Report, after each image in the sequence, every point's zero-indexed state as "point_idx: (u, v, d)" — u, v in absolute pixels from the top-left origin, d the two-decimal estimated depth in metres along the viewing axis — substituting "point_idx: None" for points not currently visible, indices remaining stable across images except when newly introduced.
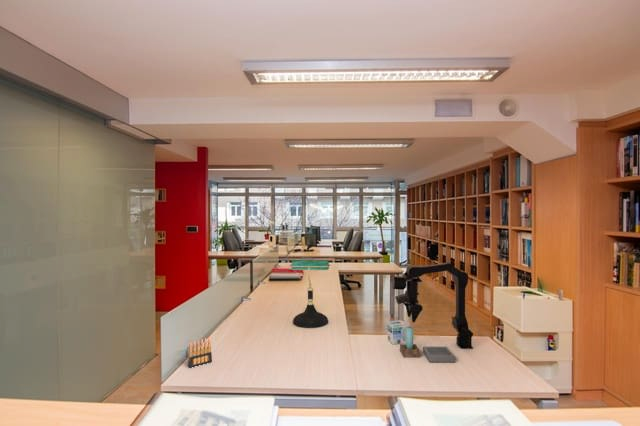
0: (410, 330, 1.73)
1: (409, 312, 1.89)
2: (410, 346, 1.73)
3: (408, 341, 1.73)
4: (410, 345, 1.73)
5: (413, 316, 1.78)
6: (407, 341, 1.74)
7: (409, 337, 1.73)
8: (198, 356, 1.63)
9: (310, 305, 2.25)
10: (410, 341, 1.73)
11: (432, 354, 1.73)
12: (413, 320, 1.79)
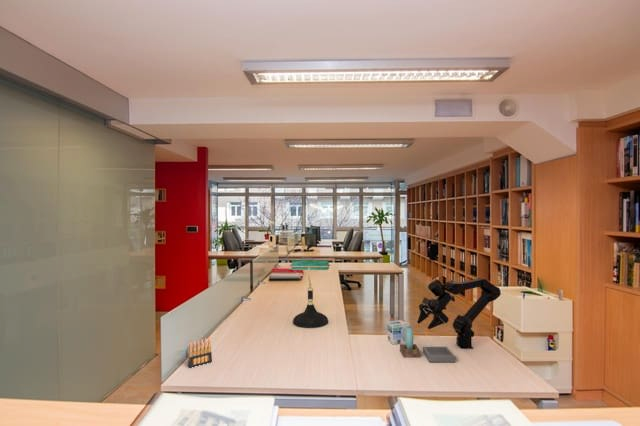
0: (410, 330, 1.73)
1: (421, 319, 1.82)
2: (410, 346, 1.73)
3: (408, 341, 1.73)
4: (410, 345, 1.73)
5: (433, 323, 1.72)
6: (407, 341, 1.74)
7: (409, 337, 1.73)
8: (198, 356, 1.63)
9: (310, 305, 2.25)
10: (410, 341, 1.73)
11: (432, 354, 1.73)
12: (429, 327, 1.72)
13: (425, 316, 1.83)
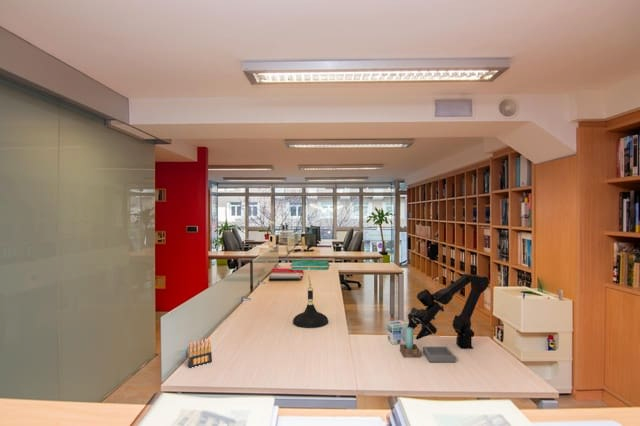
0: (410, 330, 1.73)
1: None
2: (410, 346, 1.73)
3: (408, 341, 1.73)
4: (410, 345, 1.73)
5: (421, 334, 1.70)
6: (407, 341, 1.74)
7: (409, 337, 1.73)
8: (198, 356, 1.63)
9: (310, 305, 2.25)
10: (410, 341, 1.73)
11: (432, 354, 1.73)
12: (417, 337, 1.70)
13: (414, 326, 1.81)
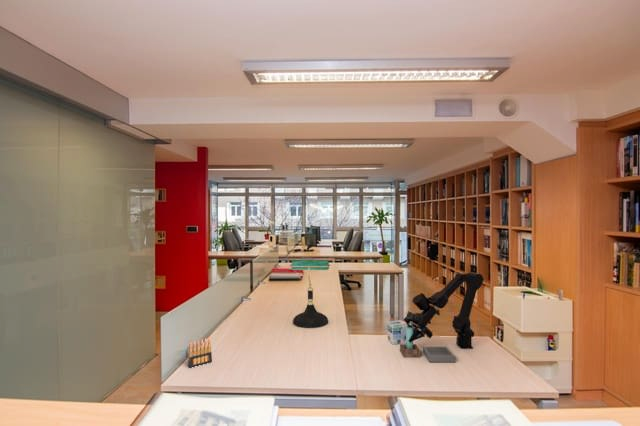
0: (410, 330, 1.73)
1: None
2: (410, 346, 1.73)
3: (408, 341, 1.73)
4: (410, 345, 1.73)
5: (414, 336, 1.72)
6: (407, 341, 1.74)
7: (409, 337, 1.73)
8: (198, 356, 1.63)
9: (310, 305, 2.25)
10: None
11: (432, 354, 1.73)
12: (410, 340, 1.72)
13: (413, 332, 1.78)
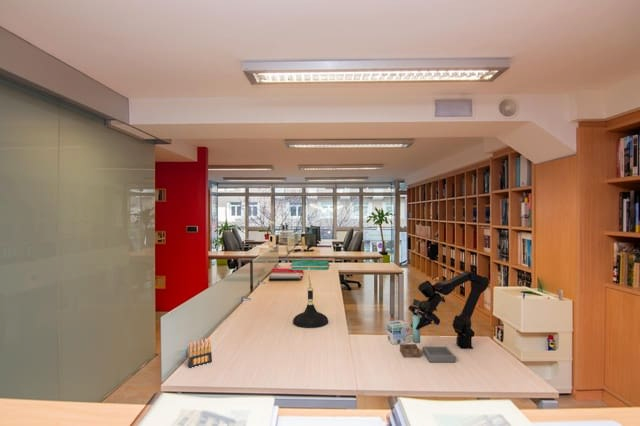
0: (417, 317, 1.71)
1: None
2: (417, 334, 1.71)
3: (415, 329, 1.72)
4: (417, 333, 1.71)
5: (421, 324, 1.71)
6: (414, 329, 1.72)
7: (416, 325, 1.71)
8: (198, 356, 1.63)
9: (310, 305, 2.25)
10: None
11: (432, 354, 1.73)
12: (418, 327, 1.71)
13: None
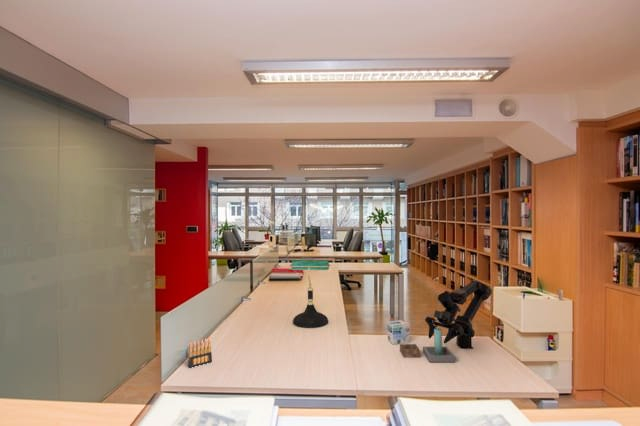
0: (440, 331, 1.69)
1: (431, 334, 1.74)
2: (440, 348, 1.69)
3: (438, 343, 1.69)
4: (440, 347, 1.69)
5: (448, 337, 1.66)
6: (437, 343, 1.69)
7: (439, 339, 1.69)
8: (198, 356, 1.63)
9: (310, 305, 2.25)
10: (440, 343, 1.69)
11: (432, 354, 1.73)
12: (446, 341, 1.66)
13: None
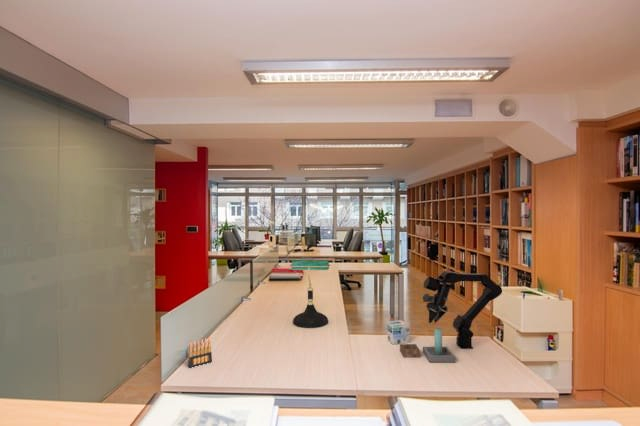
0: (440, 331, 1.69)
1: (436, 318, 1.87)
2: (440, 348, 1.69)
3: (438, 343, 1.69)
4: (440, 347, 1.69)
5: (430, 316, 1.79)
6: (437, 343, 1.69)
7: (440, 339, 1.69)
8: (198, 356, 1.63)
9: (310, 305, 2.25)
10: (440, 343, 1.69)
11: (432, 354, 1.73)
12: (429, 320, 1.79)
13: (441, 313, 1.86)
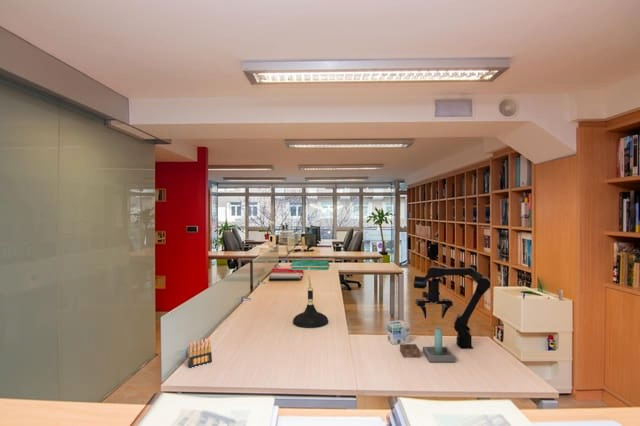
0: (440, 331, 1.69)
1: (442, 313, 1.90)
2: (440, 348, 1.69)
3: (438, 343, 1.69)
4: (440, 347, 1.69)
5: (423, 312, 1.91)
6: (437, 343, 1.69)
7: (440, 339, 1.69)
8: (198, 356, 1.63)
9: (310, 305, 2.25)
10: (440, 343, 1.69)
11: (432, 354, 1.73)
12: (424, 316, 1.91)
13: (443, 309, 1.89)
